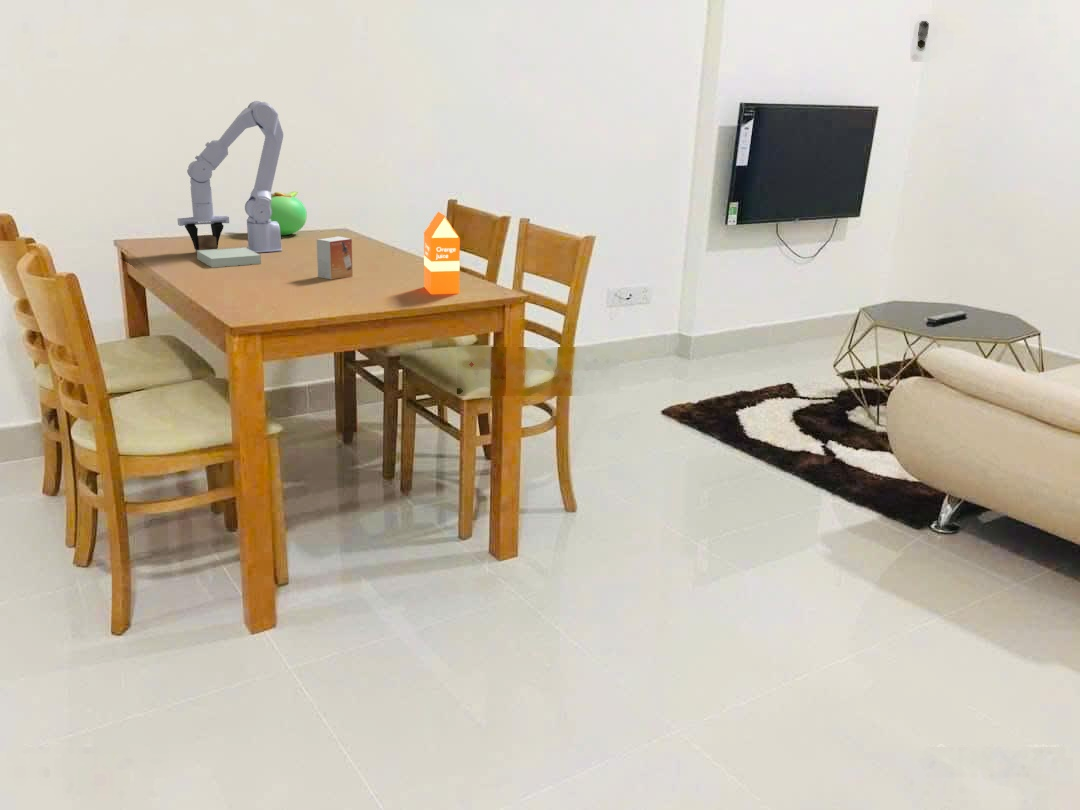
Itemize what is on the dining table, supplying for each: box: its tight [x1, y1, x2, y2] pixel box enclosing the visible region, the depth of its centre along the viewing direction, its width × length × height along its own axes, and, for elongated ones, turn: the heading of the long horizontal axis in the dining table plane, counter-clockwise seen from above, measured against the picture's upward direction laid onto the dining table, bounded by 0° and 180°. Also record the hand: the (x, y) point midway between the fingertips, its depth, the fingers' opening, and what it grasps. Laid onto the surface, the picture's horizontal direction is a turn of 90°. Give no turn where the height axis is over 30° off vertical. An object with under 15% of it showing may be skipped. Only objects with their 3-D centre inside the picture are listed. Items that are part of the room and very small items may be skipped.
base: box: [196, 246, 262, 268], centre depth 256 cm, size 14×14×2 cm
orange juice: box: [423, 211, 461, 295], centre depth 230 cm, size 8×9×20 cm
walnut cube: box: [194, 234, 218, 254], centre depth 266 cm, size 5×5×5 cm
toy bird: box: [270, 191, 308, 236], centre depth 301 cm, size 18×17×15 cm
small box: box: [316, 235, 354, 281], centre depth 242 cm, size 8×6×10 cm
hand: (206, 248), depth 267 cm, fingers closed on walnut cube, 5 cm apart
